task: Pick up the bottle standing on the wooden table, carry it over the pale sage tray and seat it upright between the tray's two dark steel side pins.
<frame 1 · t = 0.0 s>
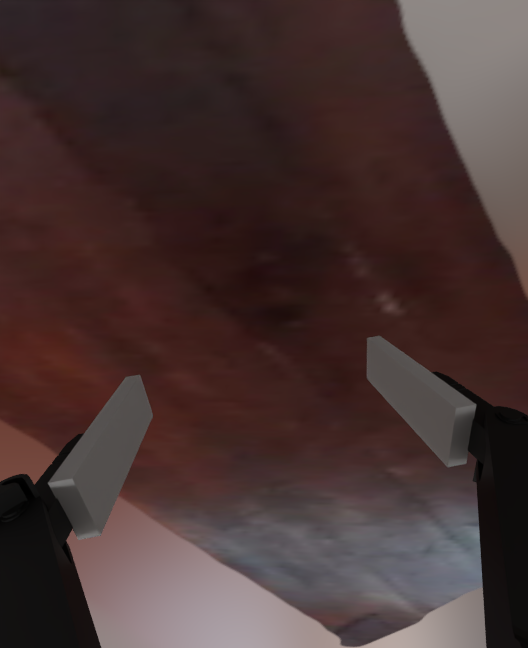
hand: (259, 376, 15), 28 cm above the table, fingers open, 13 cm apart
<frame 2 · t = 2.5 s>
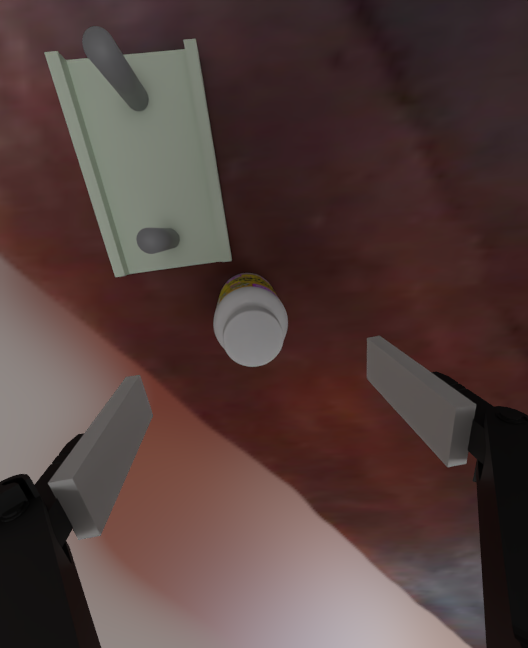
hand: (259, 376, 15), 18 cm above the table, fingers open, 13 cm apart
tray: (158, 176, 27), on the table
supplement bottle: (246, 298, 32), on the table
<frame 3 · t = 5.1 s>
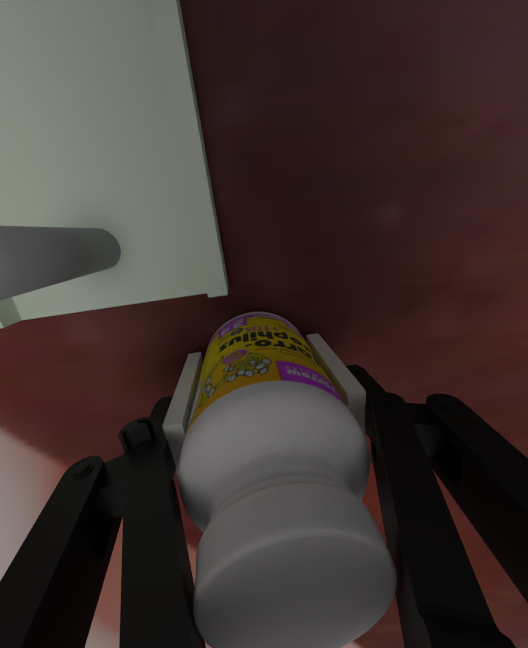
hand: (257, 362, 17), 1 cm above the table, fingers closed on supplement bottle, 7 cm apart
tray: (72, 119, 13), on the table
supplement bottle: (255, 354, 18), on the table, touching gripper
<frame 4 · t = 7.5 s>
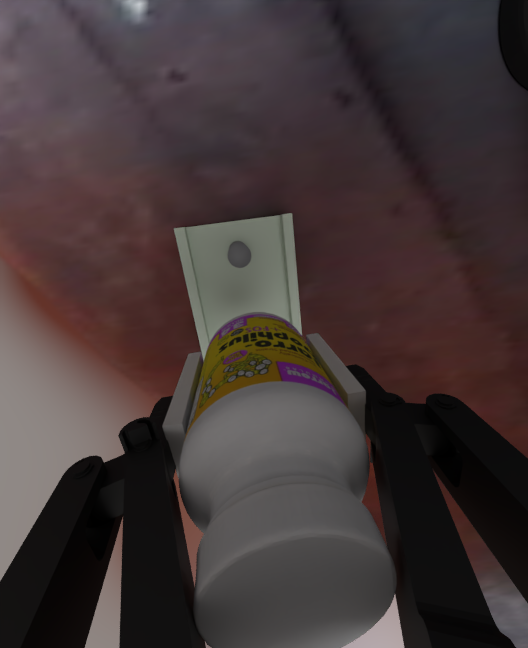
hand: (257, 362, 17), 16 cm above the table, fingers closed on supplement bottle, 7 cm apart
tray: (245, 300, 32), on the table
supplement bottle: (255, 354, 18), point 15 cm above the table, touching gripper
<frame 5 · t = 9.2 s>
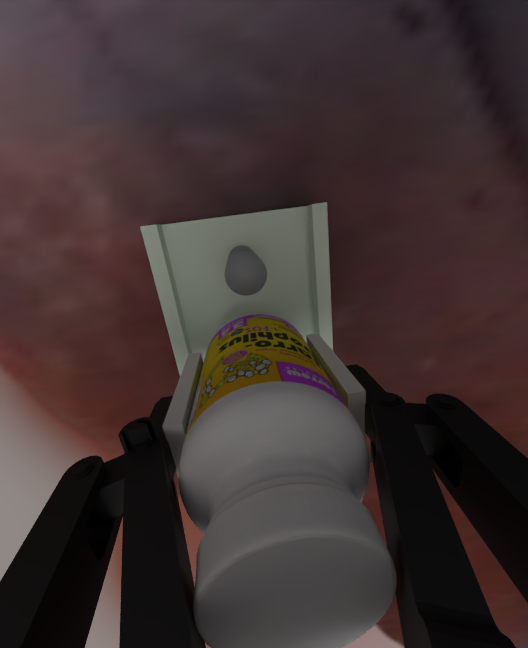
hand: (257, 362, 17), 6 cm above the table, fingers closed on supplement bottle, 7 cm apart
tray: (252, 329, 23), on the table
supplement bottle: (255, 354, 18), point 5 cm above the table, touching gripper
when the fingers open (4 cm above the table, at t = 10.3 s): supplement bottle drops 2 cm, resting on tray.
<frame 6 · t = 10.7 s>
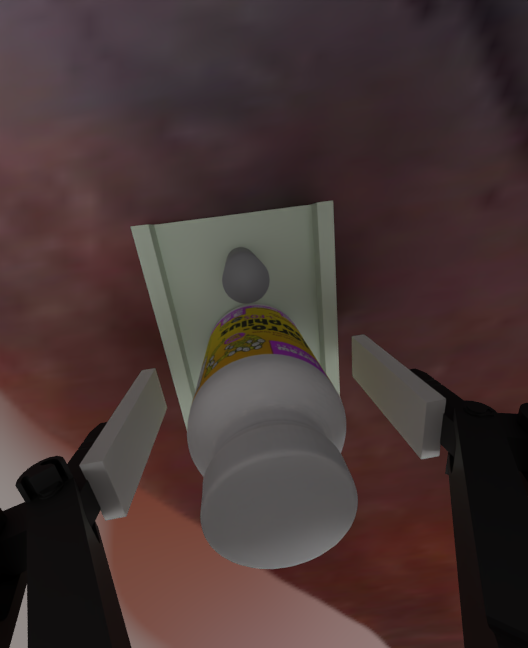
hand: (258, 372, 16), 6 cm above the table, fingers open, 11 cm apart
tray: (252, 336, 21), on the table
supplement bottle: (253, 343, 20), point 1 cm above the table, touching tray
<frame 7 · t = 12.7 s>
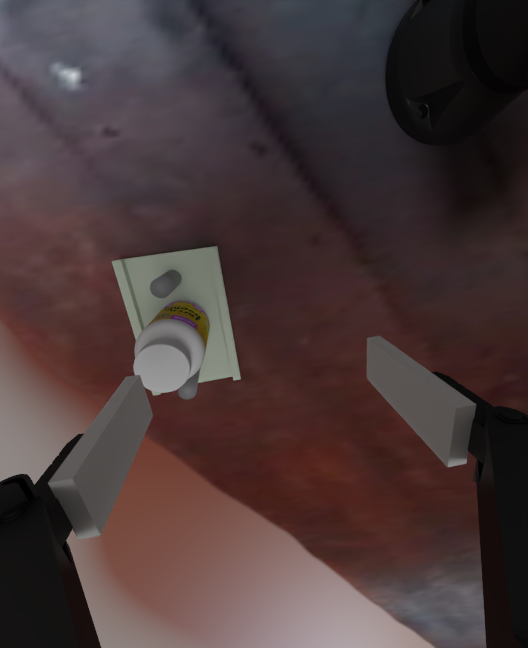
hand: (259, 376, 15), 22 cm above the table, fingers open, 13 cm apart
tray: (185, 320, 36), on the table
supplement bottle: (184, 323, 35), point 1 cm above the table, touching tray
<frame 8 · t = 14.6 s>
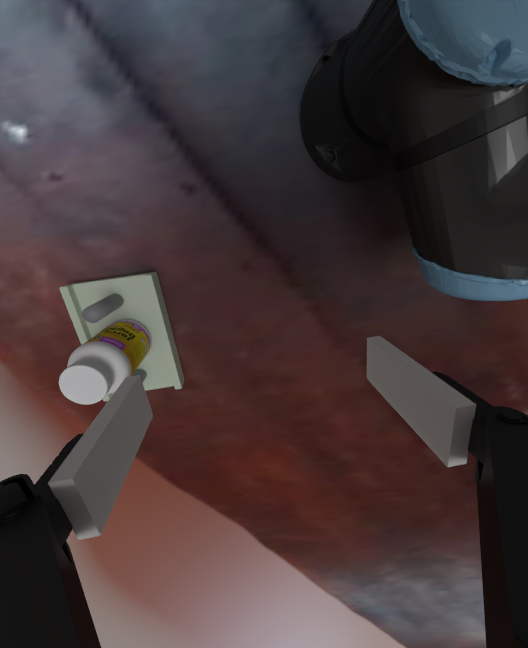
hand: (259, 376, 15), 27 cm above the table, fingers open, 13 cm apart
tray: (132, 335, 41), on the table
supplement bottle: (129, 338, 40), point 1 cm above the table, touching tray
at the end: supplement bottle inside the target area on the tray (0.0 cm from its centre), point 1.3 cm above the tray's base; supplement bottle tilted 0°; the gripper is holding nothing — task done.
